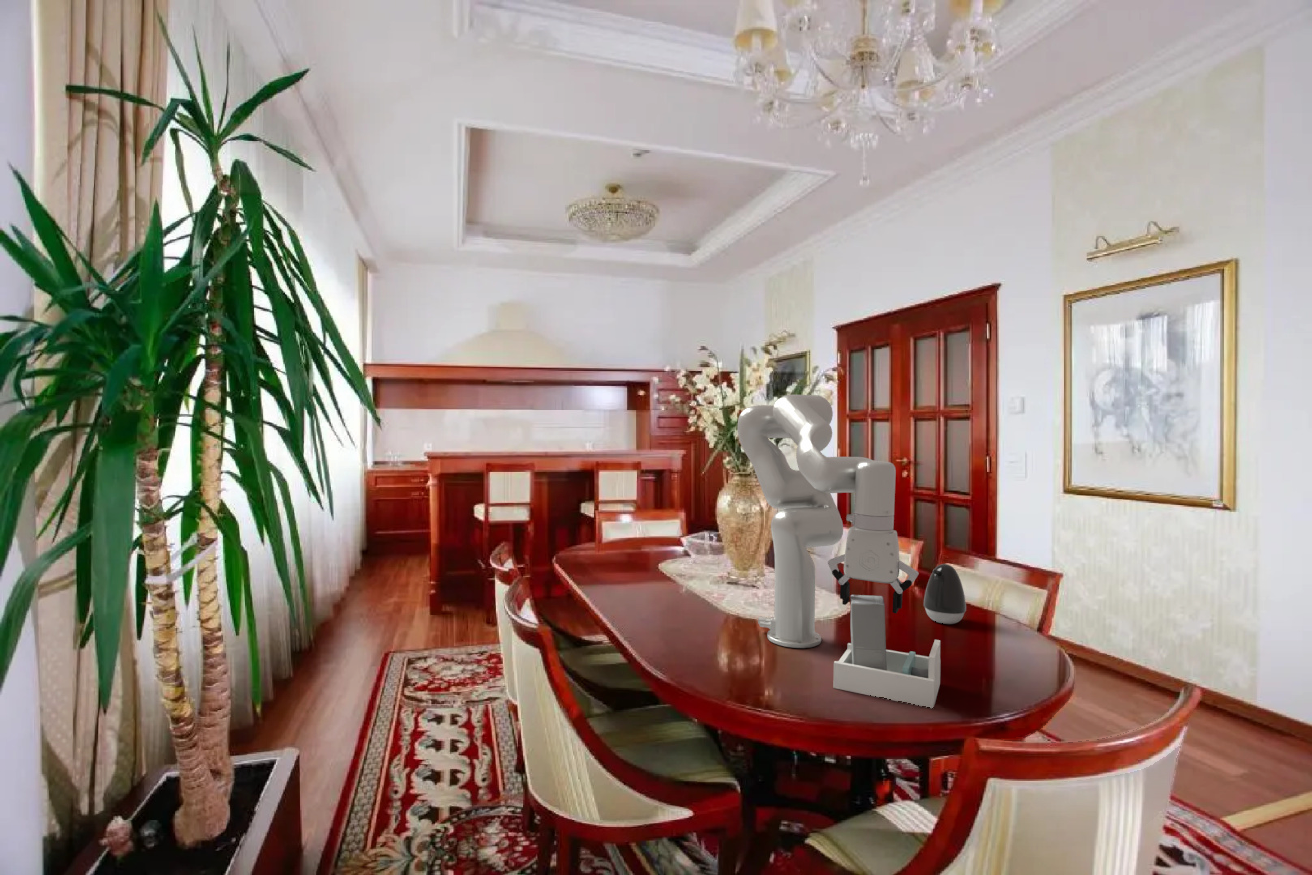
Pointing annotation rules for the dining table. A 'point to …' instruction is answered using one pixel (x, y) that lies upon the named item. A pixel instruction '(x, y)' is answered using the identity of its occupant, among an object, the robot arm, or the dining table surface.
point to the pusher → (913, 667)
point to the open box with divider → (891, 677)
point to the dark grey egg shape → (945, 596)
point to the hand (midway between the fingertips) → (870, 607)
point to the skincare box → (868, 631)
